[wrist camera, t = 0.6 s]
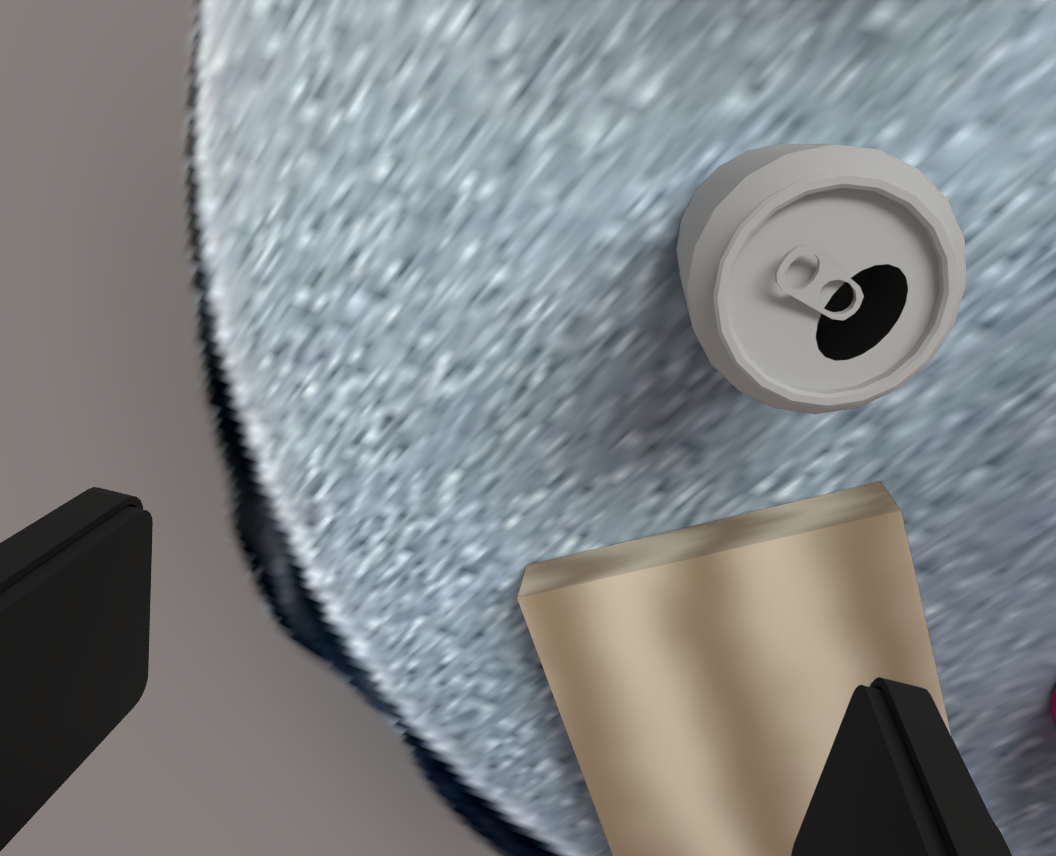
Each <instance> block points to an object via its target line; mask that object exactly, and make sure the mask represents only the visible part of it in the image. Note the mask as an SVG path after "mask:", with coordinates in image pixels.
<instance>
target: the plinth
mask: <svg viewBox="0 0 1056 856" xmlns="http://www.w3.org/2000/svg"><path fill="white" fill-rule="evenodd" d="M517 599H518V602H519V604H520V607H521V610H522V613H523V615H524V618H525V621H526V623H527V626H528V629H529V631H530V634H531V637H532V639H533V642H534V645H535V648H536V650H537V653H538V656H539V658H540V661H541V664H542V666H543V669H544V672H545V674H546V677H547V680H548V682H549V685H550V688H551V691H552V693H553V696H554V699H555V701H556V704H557V707H558V709H559V712H560V715H561V717H562V720H563V723H564V725H565V728H566V731H567V734H568V736H569V739H570V742H571V744H572V747H573V750H574V752H575V755H576V758H577V760H578V763H579V766H580V769H581V771H582V774H583V777H584V779H585V782H586V785H587V787H588V790H589V793H590V795H591V798H592V801H593V803H594V806H595V809H596V812H597V814H598V817H599V820H600V822H601V825H602V828H603V830H604V833H605V836H606V838H607V841H608V844H609V846H610V849H611V852H612V855H613V856H791V854H792V849H793V845H794V842H795V840H796V837H797V834H798V832H799V829H800V827H801V824H802V822H803V819H804V817H805V814H806V811H807V809H808V806H809V804H810V801H811V799H812V796H813V794H814V791H815V788H816V786H817V783H818V781H819V778H820V776H821V773H822V771H823V768H824V765H825V763H826V760H827V758H828V755H829V753H830V750H831V748H832V745H833V743H834V740H835V737H836V735H837V732H838V730H839V727H840V725H841V722H842V720H843V717H844V714H845V712H846V709H847V707H848V704H849V702H850V699H851V697H852V694H853V692H854V690H855V689H856V688H857V686H859V685H864V686H868V687H869V686H870V684H871V683H872V682H873V681H874V679H876V678H879V677H881V678H885V679H889V680H893V681H897V682H901V683H905V684H909V685H913V686H918V687H922V688H924V689H927V690H928V692H929V693H930V694H931V696H932V698H933V700H934V702H935V704H936V706H937V709H938V711H939V713H940V715H941V717H942V719H943V721H944V723H945V725H946V727H947V729H948V731H949V733H950V728H949V724H948V719H947V715H946V710H945V706H944V701H943V697H942V692H941V688H940V683H939V679H938V674H937V670H936V665H935V661H934V656H933V652H932V647H931V643H930V638H929V634H928V629H927V624H926V620H925V615H924V611H923V606H922V602H921V597H920V593H919V588H918V584H917V579H916V575H915V570H914V566H913V561H912V557H911V552H910V548H909V543H908V539H907V534H906V530H905V525H904V521H903V516H902V512H901V509H900V508H899V507H898V505H897V504H896V502H895V501H894V499H893V498H892V496H891V495H890V494H889V492H888V491H887V489H886V488H885V486H884V485H883V483H882V482H881V481H880V482H876V483H872V484H867V485H863V486H859V487H855V488H850V489H846V490H842V491H838V492H834V493H829V494H825V495H821V496H817V497H813V498H808V499H804V500H800V501H796V502H792V503H787V504H783V505H779V506H775V507H771V508H766V509H762V510H758V511H754V512H750V513H745V514H741V515H737V516H733V517H729V518H724V519H720V520H716V521H712V522H708V523H703V524H699V525H695V526H691V527H686V528H682V529H678V530H674V531H670V532H665V533H661V534H657V535H653V536H649V537H644V538H640V539H636V540H632V541H628V542H623V543H619V544H615V545H611V546H607V547H602V548H598V549H594V550H590V551H586V552H581V553H577V554H573V555H569V556H565V557H560V558H556V559H552V560H548V561H543V562H539V563H535V564H531V565H527V566H526V569H525V573H524V576H523V580H522V583H521V587H520V590H519V594H518V597H517ZM950 735H951V733H950Z"/></svg>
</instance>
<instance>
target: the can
mask: <svg viewBox="0 0 1056 856" xmlns="http://www.w3.org/2000/svg"><path fill="white" fill-rule="evenodd" d="M676 251H677V258H678V265H679V272H680V278H681V283H682V287H683V291H684V295H685V299H686V303H687V307H688V311H689V315H690V319H691V323H692V327H693V330H694V332H695V334H696V336H697V338H698V340H699V342H700V344H701V346H702V348H703V350H704V352H705V354H706V356H707V357H708V359H709V361H710V363H711V365H712V366H713V367H715V368H716V369H717V370H718V371H719V372H720V373H721V374H722V375H723V376H724V377H725V378H726V379H727V380H728V381H729V382H730V383H731V384H732V385H733V386H734V387H735V388H736V389H737V390H738V391H740V392H742V393H744V394H746V395H748V396H750V397H752V398H755V399H757V400H759V401H761V402H763V403H765V404H767V405H769V406H771V407H773V408H777V409H784V410H791V411H798V412H805V413H812V414H818V413H825V412H832V411H839V410H846V409H853V408H858V407H860V406H862V405H864V404H867V403H869V402H871V401H873V400H875V399H878V398H880V397H882V396H884V395H886V394H889V393H891V392H893V391H895V390H897V389H898V388H899V387H901V386H902V385H903V384H904V383H905V382H906V381H908V380H909V379H910V378H911V377H912V376H914V375H915V374H916V373H917V372H918V371H920V370H921V369H922V368H923V367H924V366H925V365H927V364H928V363H929V362H930V361H931V359H932V358H933V356H934V355H935V353H936V352H937V350H938V349H939V347H940V346H941V344H942V343H943V341H944V340H945V338H946V337H947V335H948V334H949V332H950V331H951V329H952V328H953V326H954V324H955V321H956V318H957V314H958V311H959V307H960V304H961V300H962V297H963V293H964V290H965V286H966V261H965V240H964V237H963V235H962V233H961V230H960V228H959V225H958V223H957V221H956V218H955V216H954V214H953V211H952V209H951V206H950V204H949V202H948V200H947V199H946V198H945V197H944V196H943V195H942V194H941V192H940V191H939V190H938V189H937V188H936V187H935V186H934V185H933V184H932V183H931V182H930V181H929V180H928V179H927V178H926V177H925V176H924V175H923V174H922V173H921V171H920V170H919V169H917V168H915V167H913V166H911V165H909V164H907V163H905V162H903V161H901V160H899V159H897V158H895V157H893V156H890V155H888V154H886V153H884V152H882V151H880V150H877V149H869V148H860V147H851V146H843V145H834V144H778V145H773V146H768V147H763V148H759V149H754V150H749V151H746V152H745V153H743V154H741V155H739V156H737V157H736V158H734V159H732V160H730V161H728V162H727V163H725V164H723V165H721V166H719V167H718V168H717V169H716V170H715V171H714V172H713V173H712V174H711V175H710V177H709V178H708V179H707V180H706V181H705V182H704V183H703V184H702V185H701V186H700V187H699V188H698V189H697V190H696V191H695V193H694V195H693V197H692V199H691V201H690V203H689V205H688V207H687V209H686V211H685V213H684V215H683V217H682V219H681V225H680V231H679V236H678V242H677V248H676Z"/></svg>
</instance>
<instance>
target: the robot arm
mask: <svg viewBox="0 0 1056 856" xmlns="http://www.w3.org/2000/svg"><path fill="white" fill-rule="evenodd" d="M151 557H152V516H151V514H150V513H149V512H148V511H146V510H143V506H142V503H141V500H140V499H138V498H137V497H135V496H131V495H127V494H122V493H118V492H114V491H110V490H106V489H102V488H96V487H93V488H91V489H88V490H86V491H85V492H83V493H81V494H80V495H78V496H77V497H75V498H73V499H72V500H70V501H68V502H67V503H65V504H63V505H62V506H60V507H58V508H57V509H55V510H54V511H52V512H50V513H49V514H47V515H45V516H44V517H42V518H41V519H39V520H37V521H36V522H34V523H32V524H31V525H29V526H28V527H26V528H24V529H23V530H21V531H19V532H18V533H16V534H14V535H13V536H11V537H10V538H8V539H6V540H5V541H3V542H2V543H0V851H1V850H2V849H3V848H4V847H5V846H6V845H7V844H8V842H9V841H10V840H11V839H12V838H13V837H14V836H15V835H16V834H17V833H18V832H19V831H20V829H21V828H22V827H23V826H24V825H25V824H26V823H27V822H28V821H29V820H30V819H31V818H32V817H33V815H34V814H35V813H36V812H37V811H38V810H39V809H40V808H41V807H42V806H43V805H44V804H45V802H46V801H47V800H48V799H49V798H50V797H51V796H52V795H53V794H54V793H55V792H56V791H57V790H58V788H59V787H60V786H61V785H62V784H63V783H64V782H65V781H66V780H67V779H68V778H69V777H70V775H71V774H72V773H73V772H74V771H75V770H76V769H77V768H78V767H79V766H80V765H81V764H82V762H83V761H84V760H85V759H86V758H87V757H88V756H89V755H90V754H91V753H92V752H93V751H94V750H95V748H96V747H97V746H98V745H99V744H100V743H101V742H102V741H103V740H104V739H105V738H106V736H107V735H108V734H109V733H110V732H111V731H112V730H113V729H114V728H115V726H117V725H118V723H120V721H121V720H122V719H123V718H124V717H125V716H126V715H127V714H128V713H129V712H130V711H131V710H132V708H133V707H134V706H135V705H136V704H137V702H138V701H139V700H140V698H141V696H142V694H143V692H144V689H145V686H146V683H147V679H148V659H149V625H150V590H151V589H150V588H151ZM791 856H1012V855H1011V853H1010V850H1009V848H1008V846H1007V844H1006V842H1005V840H1004V838H1003V836H1002V834H1001V832H1000V831H999V829H998V828H997V826H996V825H995V823H994V822H993V820H992V819H991V817H990V815H989V813H988V811H987V809H986V807H985V804H984V802H983V800H982V798H981V796H980V794H979V792H978V790H977V788H976V786H975V784H974V782H973V780H972V778H971V776H970V774H969V772H968V770H967V768H966V766H965V764H964V762H963V760H962V758H961V755H960V753H959V751H958V749H957V747H956V745H955V743H954V741H953V739H952V737H951V735H950V733H949V731H948V729H947V727H946V725H945V723H944V721H943V719H942V717H941V715H940V713H939V711H938V709H937V706H936V704H935V702H934V700H933V698H932V696H931V694H930V693H929V692H928V690H927V689H924V688H922V687H918V686H913V685H909V684H905V683H901V682H897V681H893V680H889V679H885V678H881V677H879V678H876V679H874V681H873V682H872V683H871V684H870V686H869V687H868V686H864V685H859V686H857V688H856V689H855V690H854V692H853V694H852V697H851V699H850V702H849V704H848V707H847V709H846V712H845V714H844V717H843V720H842V722H841V725H840V727H839V730H838V732H837V735H836V737H835V740H834V743H833V745H832V748H831V750H830V753H829V755H828V758H827V760H826V763H825V765H824V768H823V771H822V773H821V776H820V778H819V781H818V783H817V786H816V788H815V791H814V794H813V796H812V799H811V801H810V804H809V806H808V809H807V811H806V814H805V817H804V819H803V822H802V824H801V827H800V829H799V832H798V834H797V837H796V840H795V842H794V845H793V849H792V854H791Z"/></svg>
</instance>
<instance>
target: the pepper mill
mask: <svg viewBox="0 0 1056 856" xmlns="http://www.w3.org/2000/svg"><path fill="white" fill-rule="evenodd" d="M1052 715H1053V719H1054V722H1055V724H1056V687H1055V689H1054V693H1053V698H1052Z"/></svg>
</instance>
